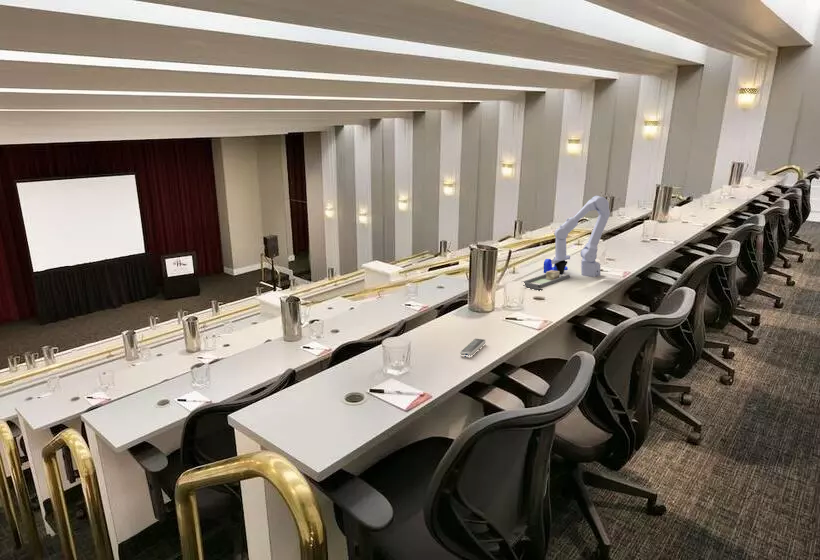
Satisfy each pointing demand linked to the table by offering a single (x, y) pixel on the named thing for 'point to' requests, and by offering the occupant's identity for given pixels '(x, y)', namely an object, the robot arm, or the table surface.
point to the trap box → (542, 281)
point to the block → (552, 274)
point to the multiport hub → (473, 347)
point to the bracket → (550, 266)
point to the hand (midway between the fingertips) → (560, 274)
